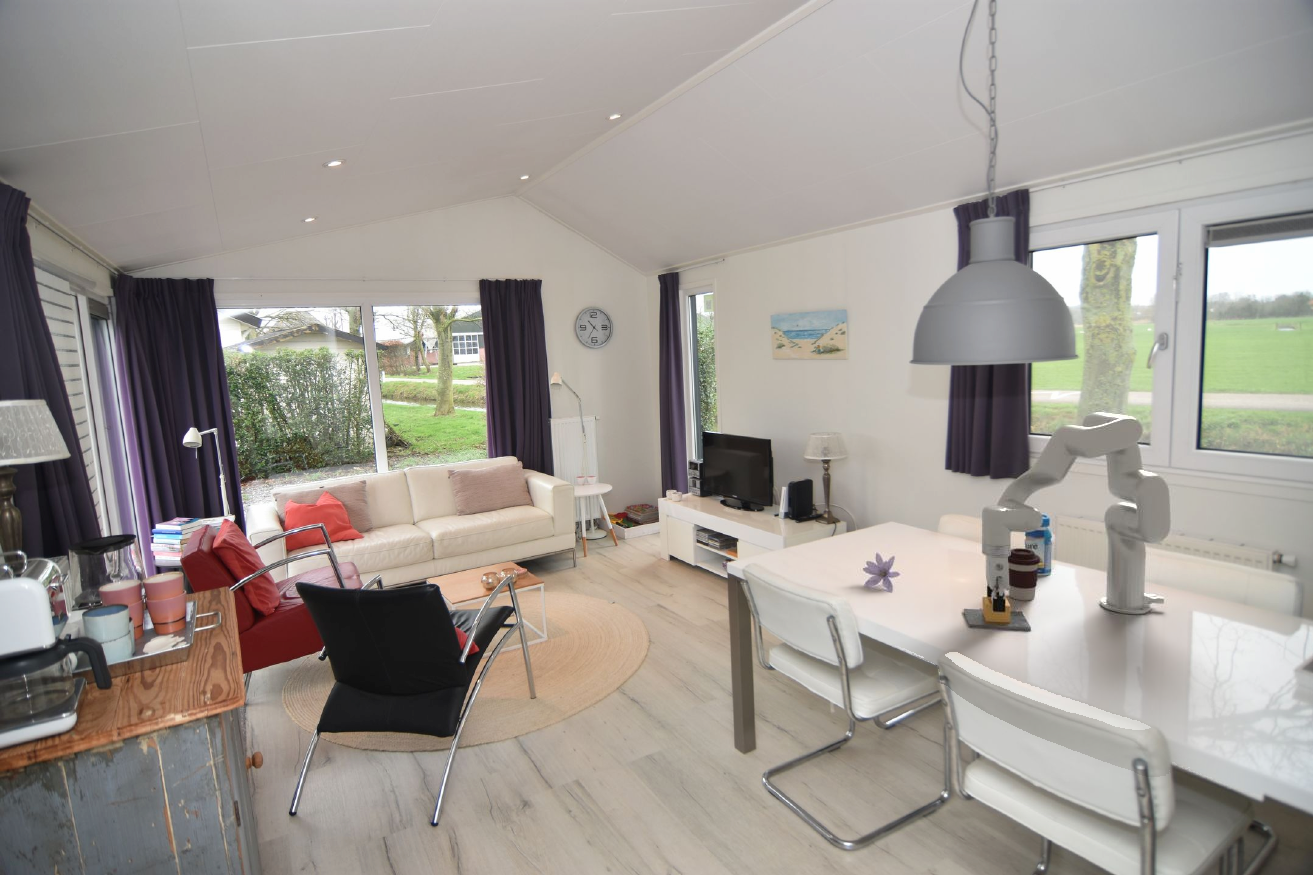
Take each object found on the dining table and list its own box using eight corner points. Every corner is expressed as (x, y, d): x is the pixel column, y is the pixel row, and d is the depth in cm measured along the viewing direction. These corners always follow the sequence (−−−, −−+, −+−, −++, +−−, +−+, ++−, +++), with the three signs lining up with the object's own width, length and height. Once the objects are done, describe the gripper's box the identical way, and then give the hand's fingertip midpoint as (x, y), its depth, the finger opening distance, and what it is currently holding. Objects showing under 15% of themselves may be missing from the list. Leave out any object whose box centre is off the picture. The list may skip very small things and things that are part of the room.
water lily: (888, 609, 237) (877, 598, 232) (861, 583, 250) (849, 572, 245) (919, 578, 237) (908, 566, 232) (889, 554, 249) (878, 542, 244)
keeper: (1021, 614, 210) (1021, 584, 209) (1030, 630, 199) (1031, 599, 197) (963, 611, 215) (963, 582, 213) (969, 627, 203) (969, 596, 202)
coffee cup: (1044, 602, 218) (1044, 556, 216) (1009, 602, 220) (1009, 555, 218) (1033, 591, 227) (1034, 546, 225) (1000, 591, 229) (1000, 546, 227)
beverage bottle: (1056, 575, 240) (1057, 518, 237) (1031, 576, 240) (1032, 519, 238) (1043, 567, 248) (1044, 512, 246) (1019, 569, 249) (1020, 513, 246)
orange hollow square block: (1005, 613, 209) (1006, 597, 208) (1010, 622, 203) (1010, 605, 202) (982, 612, 210) (982, 596, 210) (986, 621, 204) (986, 604, 204)
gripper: (1016, 558, 194) (1016, 617, 197) (1004, 540, 211) (1004, 595, 213) (987, 557, 197) (987, 615, 199) (977, 539, 213) (977, 594, 215)
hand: (995, 605), depth 206 cm, fingers open, 9 cm apart
